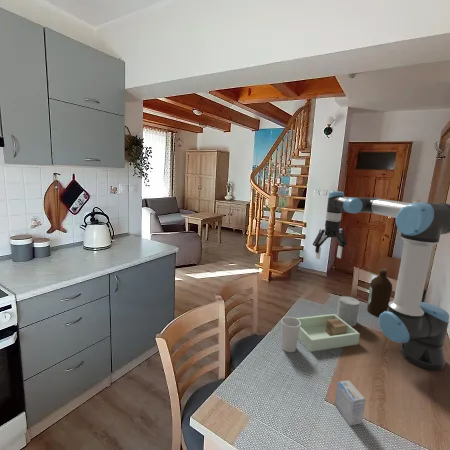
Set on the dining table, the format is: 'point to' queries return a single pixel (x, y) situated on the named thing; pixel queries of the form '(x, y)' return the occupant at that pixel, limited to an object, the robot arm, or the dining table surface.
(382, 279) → the olive oil
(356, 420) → the medicine box
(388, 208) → the robot arm
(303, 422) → the dining table surface
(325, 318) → the tote
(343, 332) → the walnut block
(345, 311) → the white can
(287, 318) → the cup
